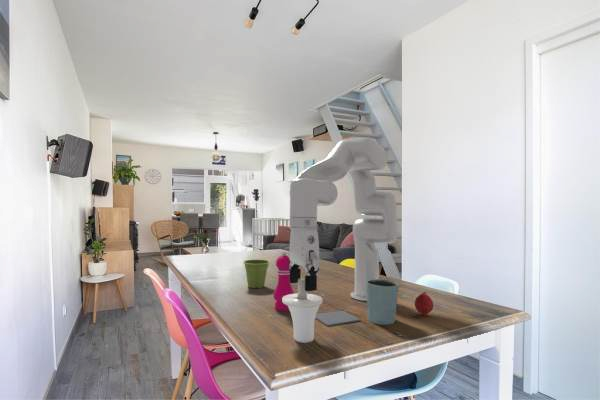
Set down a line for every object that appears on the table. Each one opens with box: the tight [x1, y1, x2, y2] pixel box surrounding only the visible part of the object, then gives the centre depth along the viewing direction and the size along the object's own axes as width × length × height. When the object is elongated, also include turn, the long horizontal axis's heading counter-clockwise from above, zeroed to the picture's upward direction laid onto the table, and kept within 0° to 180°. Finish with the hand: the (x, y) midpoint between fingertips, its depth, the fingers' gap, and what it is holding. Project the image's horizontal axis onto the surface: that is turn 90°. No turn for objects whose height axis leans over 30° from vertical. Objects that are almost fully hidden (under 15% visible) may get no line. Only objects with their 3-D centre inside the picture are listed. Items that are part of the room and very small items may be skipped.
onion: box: [414, 291, 434, 317], centre depth 111 cm, size 6×6×8 cm
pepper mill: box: [273, 251, 295, 312], centre depth 117 cm, size 7×7×20 cm
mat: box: [315, 310, 361, 327], centre depth 106 cm, size 12×10×1 cm
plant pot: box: [243, 258, 271, 289], centre depth 148 cm, size 12×12×11 cm
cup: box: [288, 305, 320, 344], centre depth 90 cm, size 9×9×10 cm
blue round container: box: [366, 278, 400, 326], centre depth 106 cm, size 10×10×12 cm
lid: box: [282, 277, 324, 307], centre depth 90 cm, size 11×11×6 cm
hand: (302, 286), depth 90 cm, fingers open, 9 cm apart
